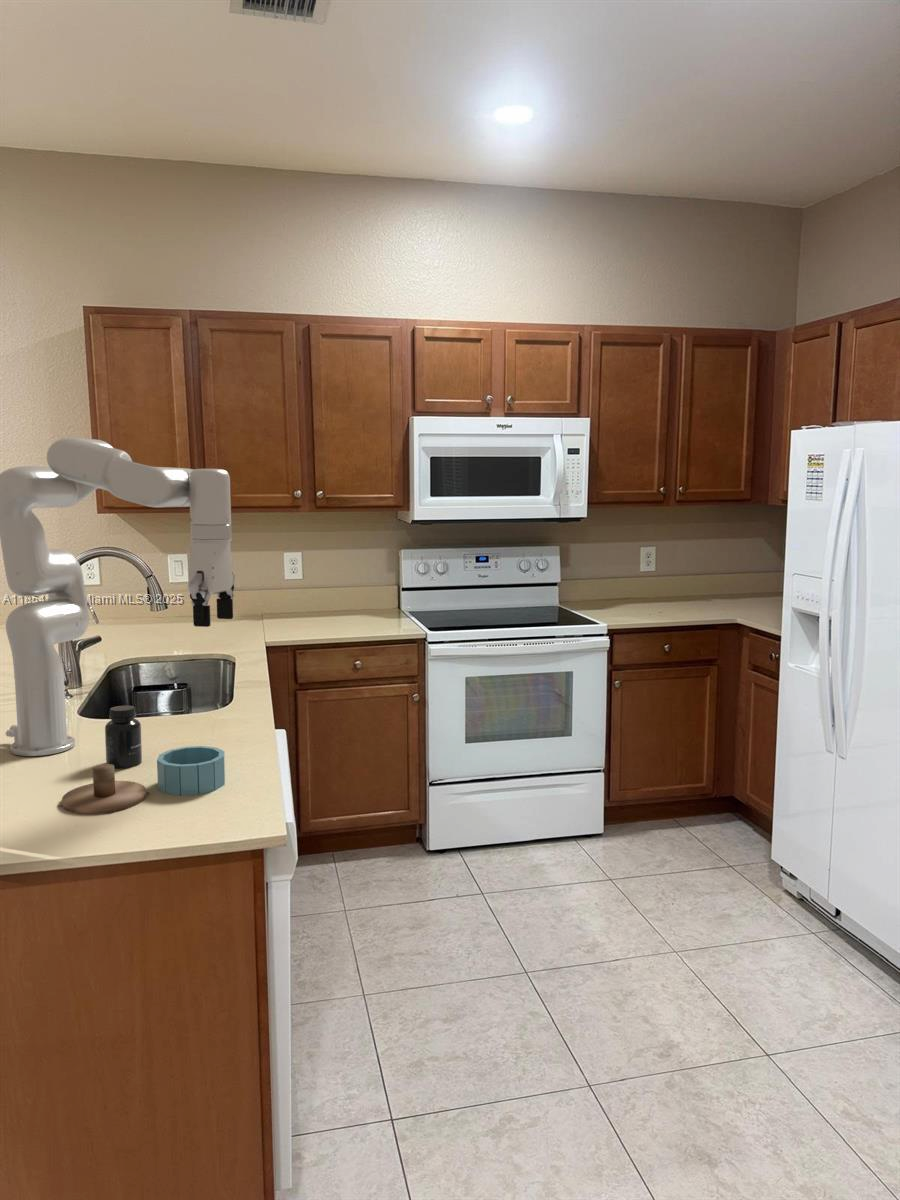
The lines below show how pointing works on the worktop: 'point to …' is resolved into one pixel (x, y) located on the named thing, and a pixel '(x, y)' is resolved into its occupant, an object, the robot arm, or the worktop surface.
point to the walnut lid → (103, 793)
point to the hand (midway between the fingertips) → (213, 622)
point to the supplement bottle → (123, 738)
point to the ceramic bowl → (191, 770)
